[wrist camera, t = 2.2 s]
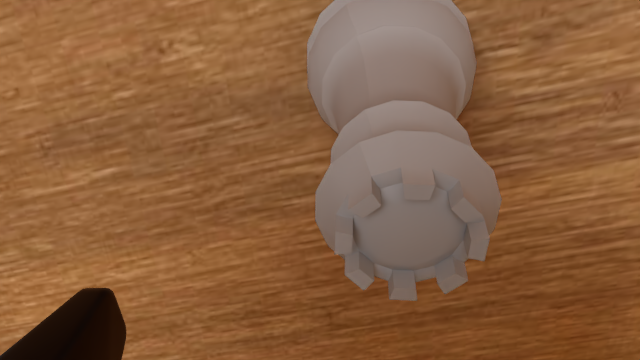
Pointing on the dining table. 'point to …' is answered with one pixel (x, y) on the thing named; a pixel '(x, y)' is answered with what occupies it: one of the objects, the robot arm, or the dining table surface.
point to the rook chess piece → (400, 143)
